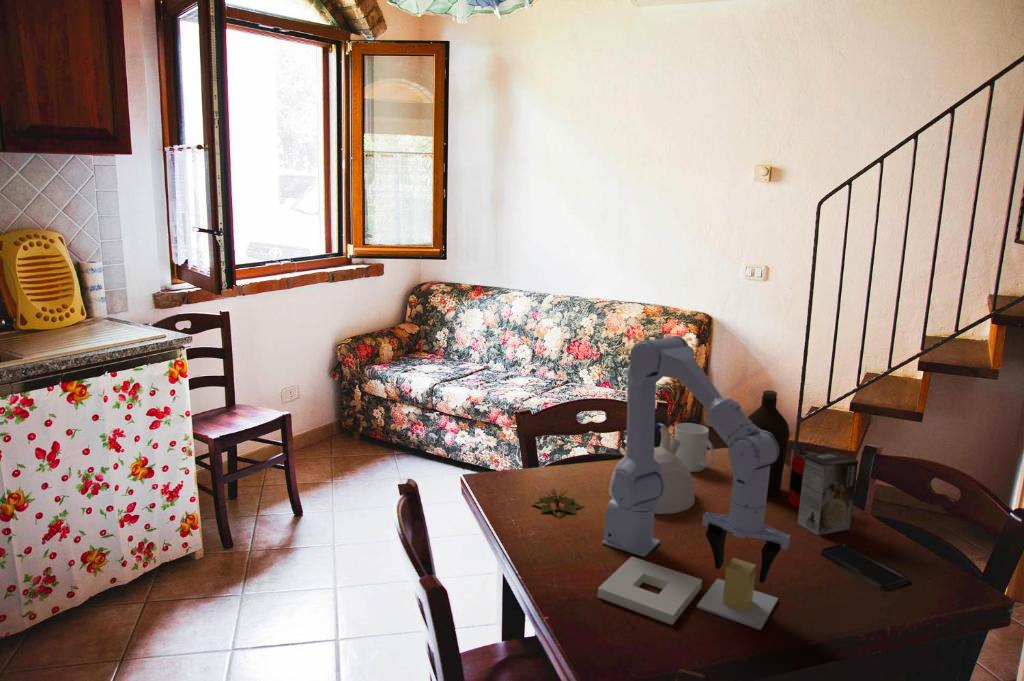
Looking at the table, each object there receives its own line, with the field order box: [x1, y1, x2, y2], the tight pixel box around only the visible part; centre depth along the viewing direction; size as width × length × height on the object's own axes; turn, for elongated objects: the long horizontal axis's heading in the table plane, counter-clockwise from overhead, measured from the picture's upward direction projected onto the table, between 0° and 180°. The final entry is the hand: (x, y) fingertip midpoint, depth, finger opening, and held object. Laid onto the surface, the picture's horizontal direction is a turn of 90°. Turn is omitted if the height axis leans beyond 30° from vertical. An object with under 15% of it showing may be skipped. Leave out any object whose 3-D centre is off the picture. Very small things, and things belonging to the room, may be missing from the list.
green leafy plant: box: [531, 487, 585, 519], centre depth 163 cm, size 12×12×5 cm
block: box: [723, 557, 757, 611], centre depth 126 cm, size 4×4×7 cm
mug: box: [673, 422, 715, 473], centre depth 188 cm, size 9×12×11 cm
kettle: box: [608, 423, 696, 515], centre depth 169 cm, size 20×21×18 cm
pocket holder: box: [597, 556, 703, 626], centre depth 129 cm, size 14×14×2 cm
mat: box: [696, 577, 779, 631], centre depth 127 cm, size 11×11×1 cm
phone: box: [819, 543, 909, 591], centre depth 141 cm, size 8×1×15 cm
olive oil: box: [747, 389, 790, 498], centre depth 174 cm, size 11×11×25 cm
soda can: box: [787, 451, 817, 509], centre depth 168 cm, size 8×8×12 cm
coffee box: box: [797, 451, 859, 536], centre depth 156 cm, size 9×6×16 cm
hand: (740, 573), depth 125 cm, fingers open, 7 cm apart
